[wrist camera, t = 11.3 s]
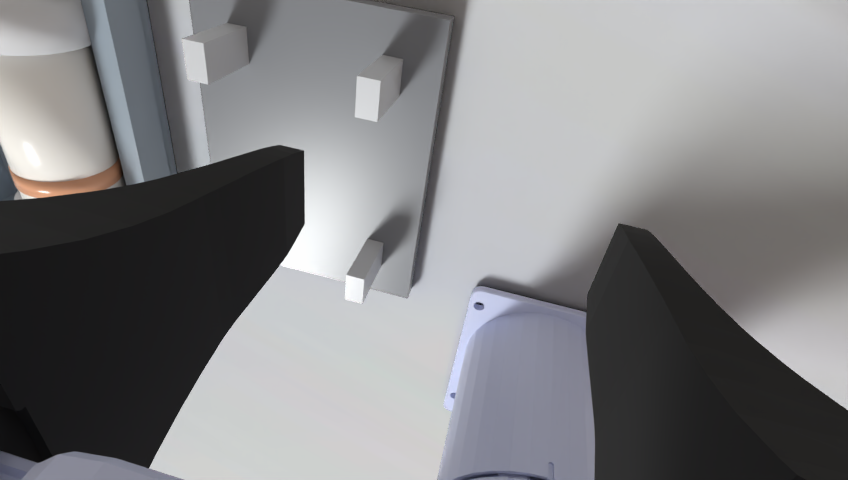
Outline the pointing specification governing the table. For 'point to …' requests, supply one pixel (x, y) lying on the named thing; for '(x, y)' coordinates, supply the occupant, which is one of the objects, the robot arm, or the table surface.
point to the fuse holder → (331, 119)
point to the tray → (125, 91)
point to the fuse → (53, 102)
